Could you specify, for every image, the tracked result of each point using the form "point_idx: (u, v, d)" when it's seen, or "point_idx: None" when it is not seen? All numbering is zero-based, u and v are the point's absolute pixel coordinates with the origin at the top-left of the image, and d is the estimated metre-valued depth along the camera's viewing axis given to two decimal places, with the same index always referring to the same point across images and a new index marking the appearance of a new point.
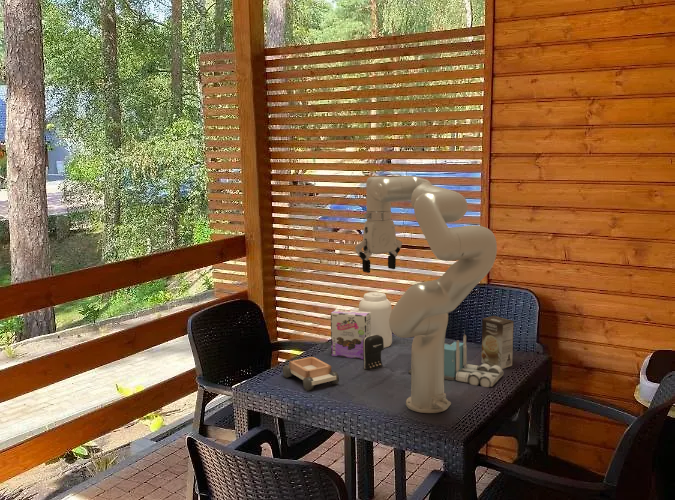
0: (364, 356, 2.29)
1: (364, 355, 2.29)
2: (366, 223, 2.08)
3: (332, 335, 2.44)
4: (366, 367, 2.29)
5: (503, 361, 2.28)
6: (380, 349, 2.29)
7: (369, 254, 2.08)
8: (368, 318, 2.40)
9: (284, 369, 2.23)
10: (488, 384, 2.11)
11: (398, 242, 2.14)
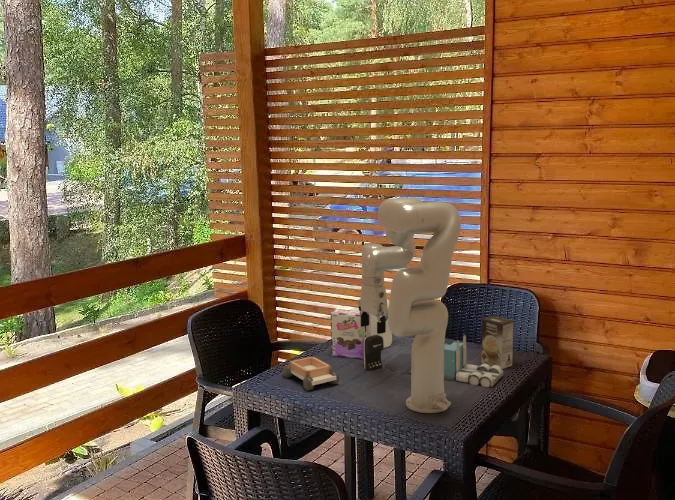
0: (364, 356, 2.29)
1: (364, 355, 2.29)
2: (379, 288, 2.23)
3: (332, 335, 2.44)
4: (366, 367, 2.29)
5: (503, 361, 2.28)
6: (380, 349, 2.29)
7: None
8: None
9: (284, 369, 2.23)
10: (488, 384, 2.11)
11: None
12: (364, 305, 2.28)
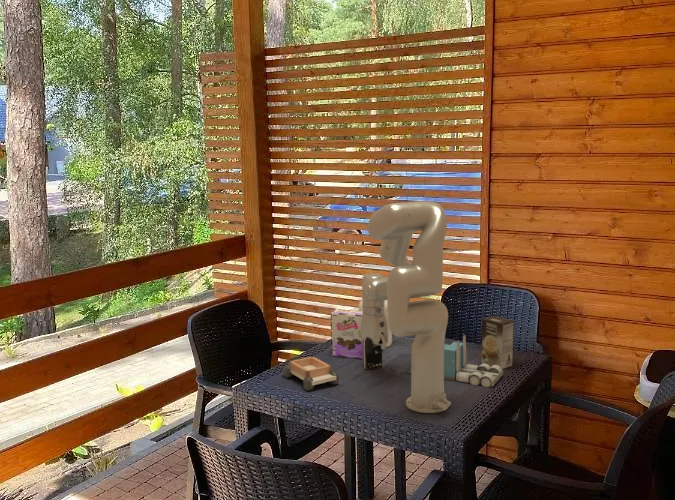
0: (364, 356, 2.29)
1: (364, 355, 2.29)
2: (380, 318, 2.24)
3: (332, 335, 2.44)
4: (366, 367, 2.29)
5: (503, 361, 2.28)
6: None
7: None
8: None
9: (284, 369, 2.23)
10: (489, 384, 2.11)
11: None
12: (365, 334, 2.30)
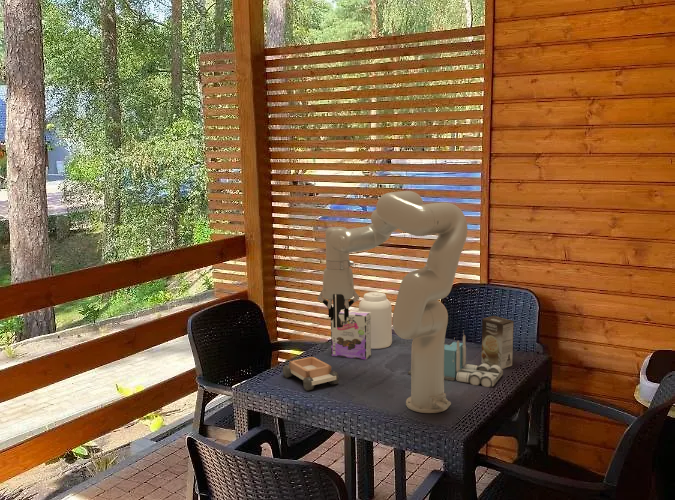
0: (335, 314, 2.19)
1: (336, 313, 2.18)
2: (351, 270, 2.19)
3: (332, 335, 2.44)
4: (338, 325, 2.19)
5: (503, 361, 2.28)
6: None
7: None
8: (368, 318, 2.40)
9: (284, 369, 2.23)
10: (489, 384, 2.11)
11: None
12: (332, 292, 2.19)
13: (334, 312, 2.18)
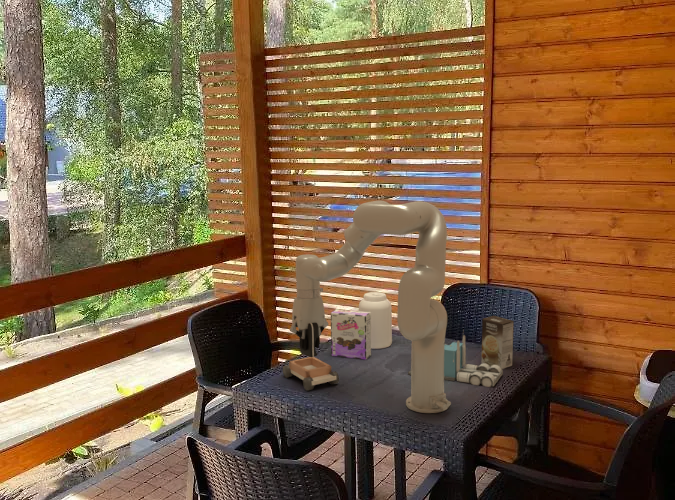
0: (312, 343, 2.15)
1: (313, 342, 2.15)
2: None
3: (332, 335, 2.44)
4: (315, 354, 2.16)
5: (503, 361, 2.28)
6: None
7: None
8: (368, 318, 2.40)
9: (284, 369, 2.23)
10: (490, 384, 2.11)
11: None
12: (307, 322, 2.14)
13: (311, 341, 2.15)
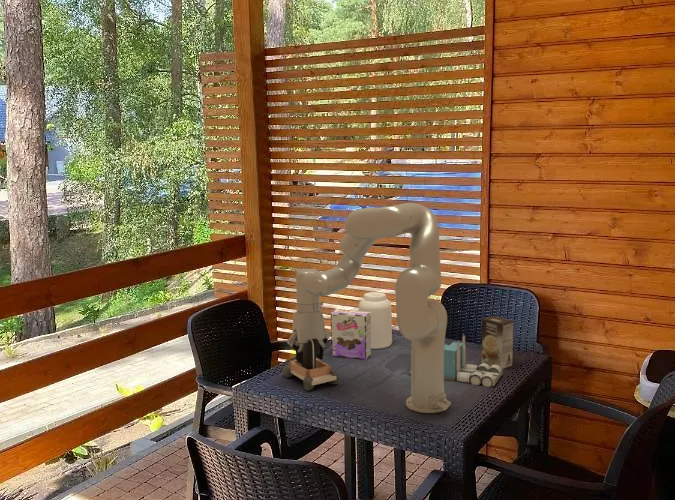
0: (313, 360, 2.16)
1: (313, 359, 2.16)
2: None
3: (332, 335, 2.44)
4: None
5: (503, 361, 2.28)
6: None
7: None
8: (368, 318, 2.40)
9: (284, 369, 2.23)
10: (490, 384, 2.11)
11: None
12: (307, 336, 2.15)
13: (312, 358, 2.15)
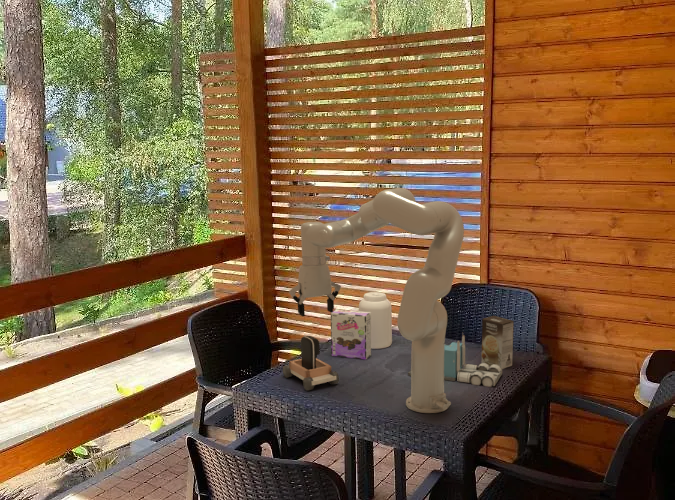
0: (313, 360, 2.16)
1: (313, 359, 2.16)
2: None
3: (332, 335, 2.44)
4: None
5: (503, 361, 2.28)
6: None
7: None
8: (368, 318, 2.40)
9: (284, 369, 2.23)
10: (491, 384, 2.12)
11: None
12: (312, 289, 2.12)
13: (312, 358, 2.15)
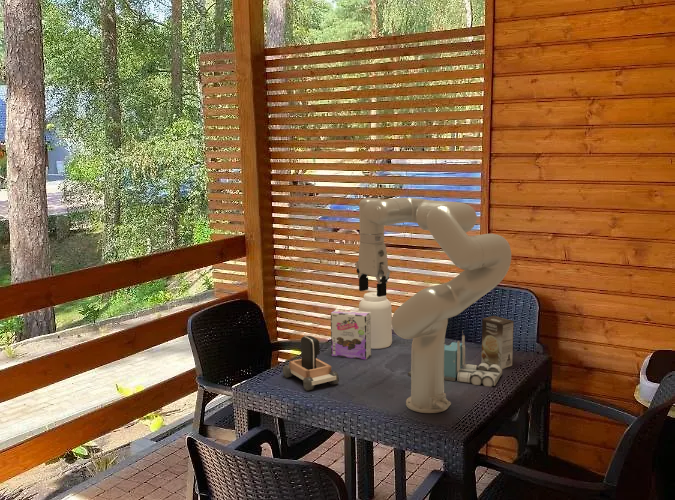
0: (313, 360, 2.16)
1: (313, 359, 2.16)
2: (379, 246, 2.03)
3: (332, 335, 2.44)
4: None
5: (503, 361, 2.28)
6: None
7: None
8: (368, 318, 2.40)
9: (284, 369, 2.23)
10: (491, 383, 2.12)
11: None
12: (362, 266, 2.08)
13: (312, 358, 2.15)
